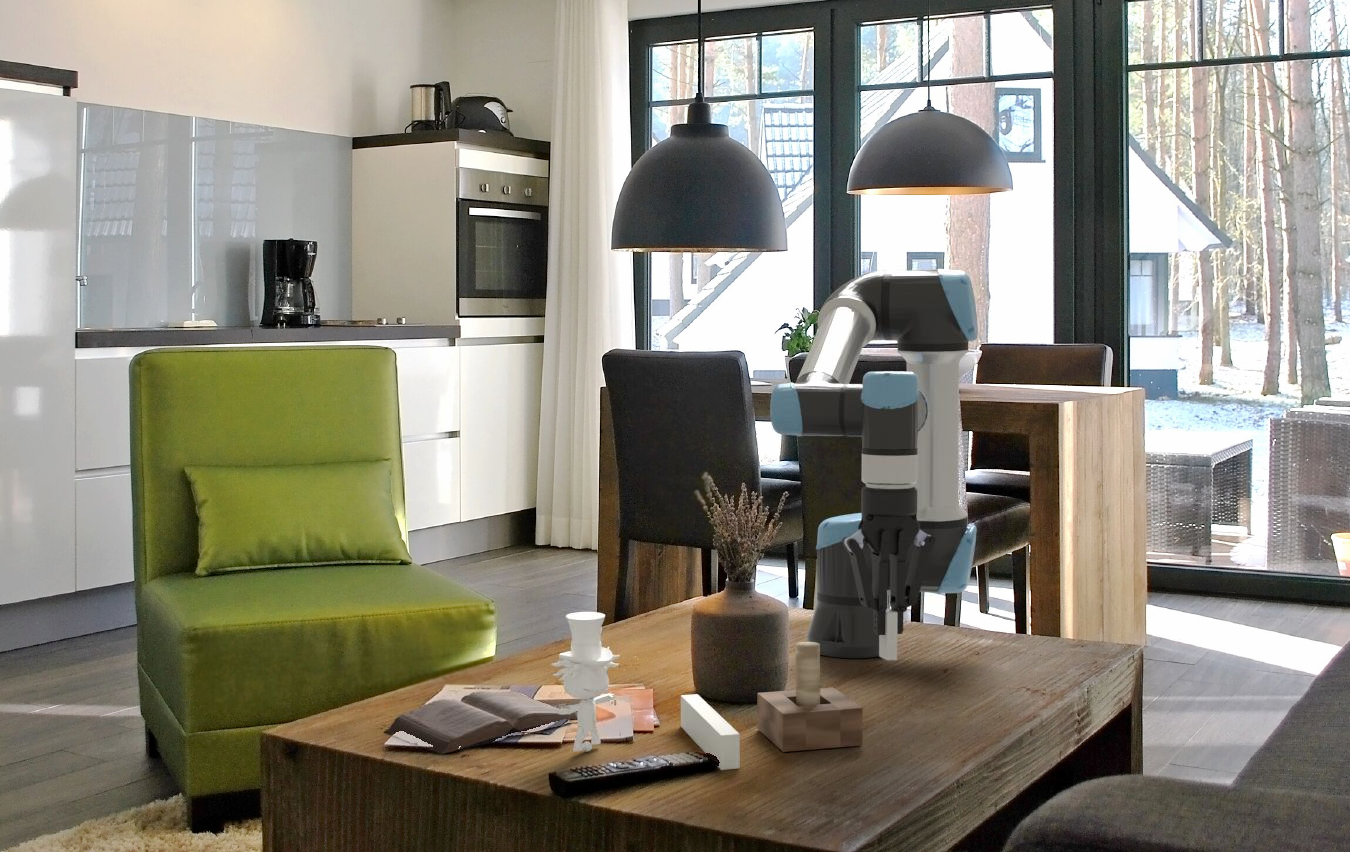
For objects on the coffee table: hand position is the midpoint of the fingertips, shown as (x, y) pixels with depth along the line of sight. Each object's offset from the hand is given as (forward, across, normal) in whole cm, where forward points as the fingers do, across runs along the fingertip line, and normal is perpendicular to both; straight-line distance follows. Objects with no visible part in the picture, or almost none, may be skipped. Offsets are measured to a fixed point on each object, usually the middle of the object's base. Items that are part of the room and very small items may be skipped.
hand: (888, 657), depth 191 cm
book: (+11, +52, -19) cm, 57 cm away
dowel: (+10, +11, 0) cm, 15 cm away
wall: (+11, +25, 0) cm, 27 cm away
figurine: (+11, +41, -2) cm, 43 cm away
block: (+10, +11, 0) cm, 15 cm away
